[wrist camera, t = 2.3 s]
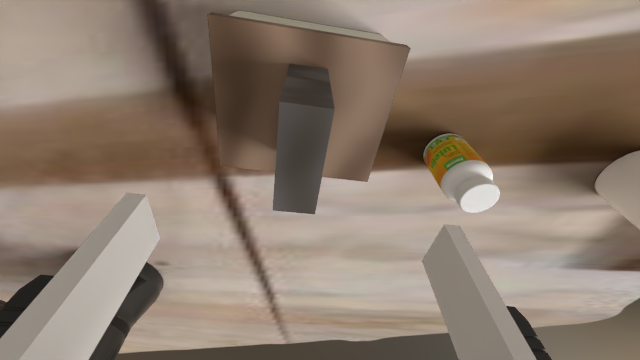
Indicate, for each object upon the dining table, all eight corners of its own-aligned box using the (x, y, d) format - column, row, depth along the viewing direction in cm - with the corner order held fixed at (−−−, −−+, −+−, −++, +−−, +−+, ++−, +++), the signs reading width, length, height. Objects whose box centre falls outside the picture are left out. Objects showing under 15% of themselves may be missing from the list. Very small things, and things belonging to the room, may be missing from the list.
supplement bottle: (443, 125, 33) (483, 170, 25) (473, 143, 35) (519, 191, 27) (413, 157, 36) (441, 207, 28) (443, 173, 38) (477, 224, 30)
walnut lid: (225, 155, 28) (191, 226, 20) (215, 11, 20) (153, 33, 12) (364, 170, 29) (383, 242, 21) (403, 42, 22) (455, 80, 14)
